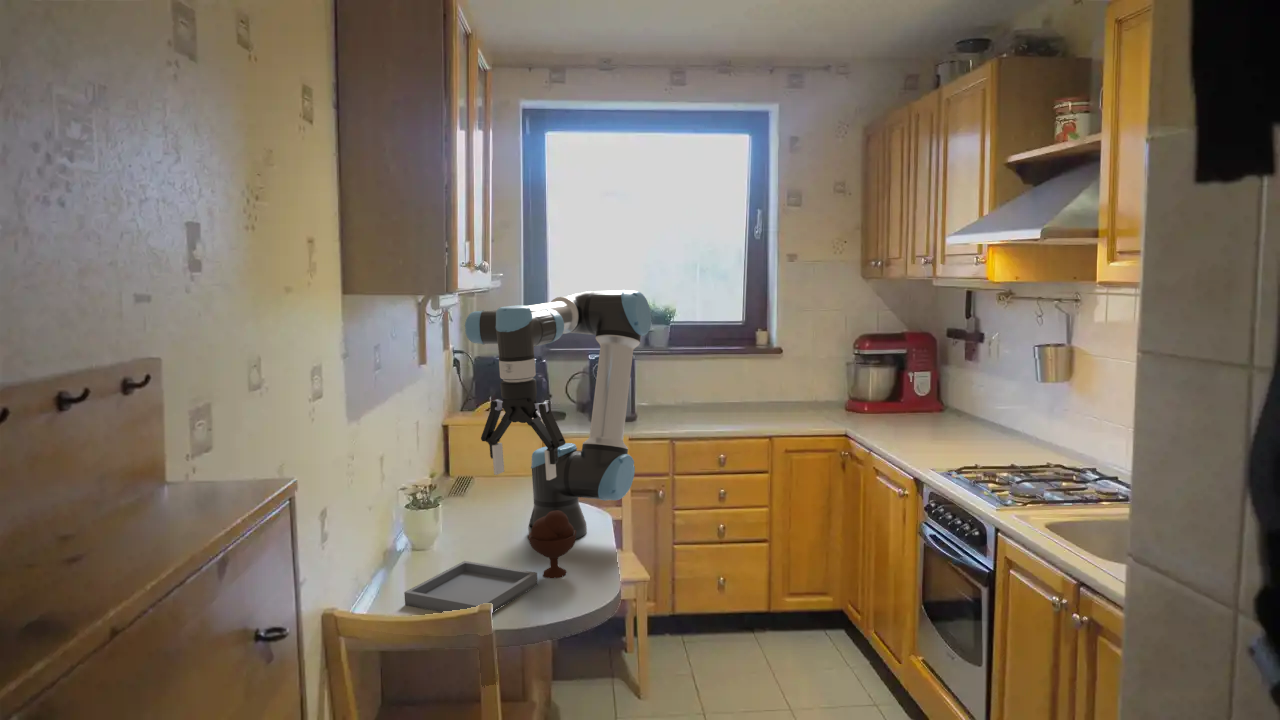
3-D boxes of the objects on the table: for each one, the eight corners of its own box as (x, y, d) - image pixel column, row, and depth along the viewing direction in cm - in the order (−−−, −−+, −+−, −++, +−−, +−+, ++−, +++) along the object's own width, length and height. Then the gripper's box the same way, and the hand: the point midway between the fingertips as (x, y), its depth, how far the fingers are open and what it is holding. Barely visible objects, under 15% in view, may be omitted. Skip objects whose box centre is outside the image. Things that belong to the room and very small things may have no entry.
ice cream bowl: (578, 564, 204) (575, 501, 202) (577, 582, 193) (574, 516, 191) (533, 566, 204) (530, 504, 202) (529, 584, 193) (525, 518, 191)
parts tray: (465, 572, 201) (464, 560, 201) (537, 584, 192) (536, 572, 192) (405, 604, 184) (404, 592, 183) (481, 620, 175) (481, 606, 174)
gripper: (460, 379, 187) (467, 475, 191) (558, 384, 176) (564, 485, 179) (481, 373, 194) (488, 466, 197) (577, 377, 183) (583, 476, 186)
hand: (524, 475), depth 188 cm, fingers open, 13 cm apart
